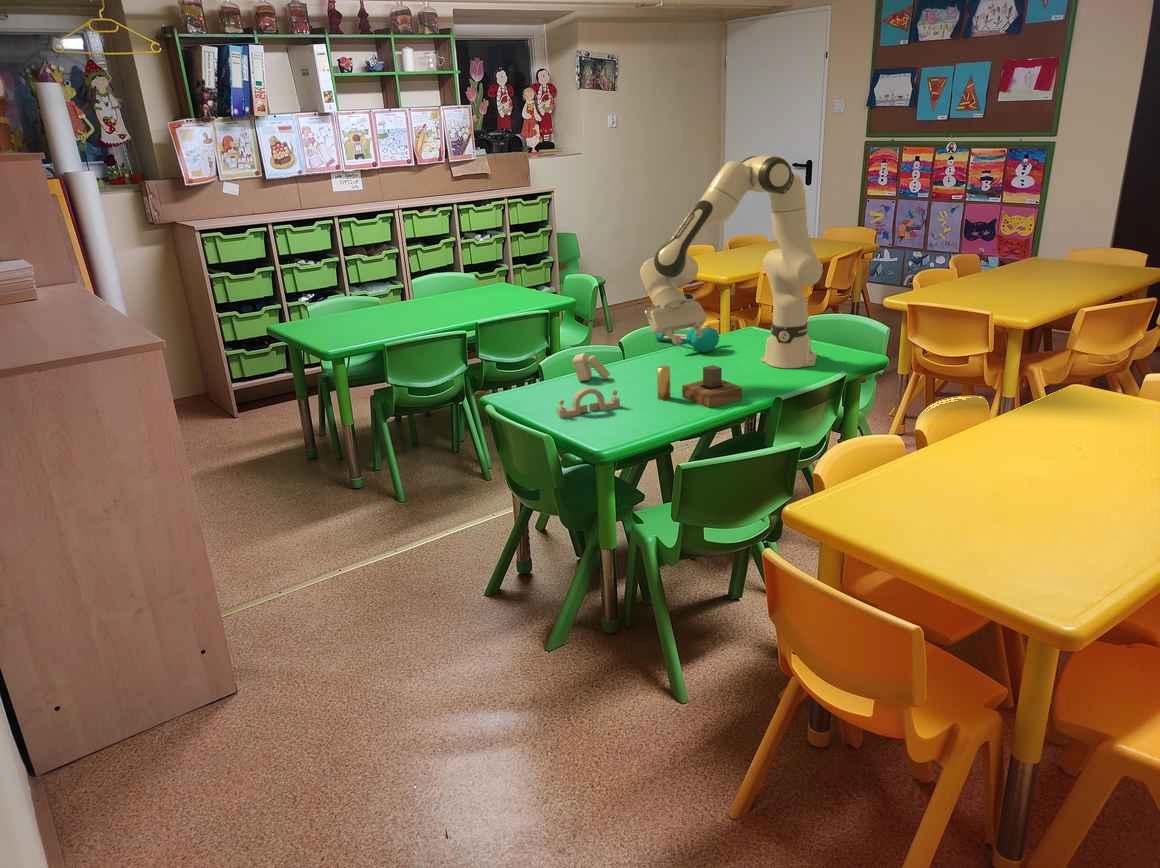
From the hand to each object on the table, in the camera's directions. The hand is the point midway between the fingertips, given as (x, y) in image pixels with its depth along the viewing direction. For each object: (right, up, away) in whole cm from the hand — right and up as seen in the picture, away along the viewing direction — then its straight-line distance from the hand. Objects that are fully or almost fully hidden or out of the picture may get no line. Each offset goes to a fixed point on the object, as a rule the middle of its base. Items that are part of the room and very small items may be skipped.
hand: (688, 339), depth 256 cm
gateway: (-32, -24, -9) cm, 41 cm away
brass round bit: (-8, -19, -1) cm, 20 cm away
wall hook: (-30, -12, +21) cm, 39 cm away
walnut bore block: (+7, -19, -4) cm, 21 cm away
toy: (+6, +3, +55) cm, 55 cm away
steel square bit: (+7, -19, -4) cm, 21 cm away
